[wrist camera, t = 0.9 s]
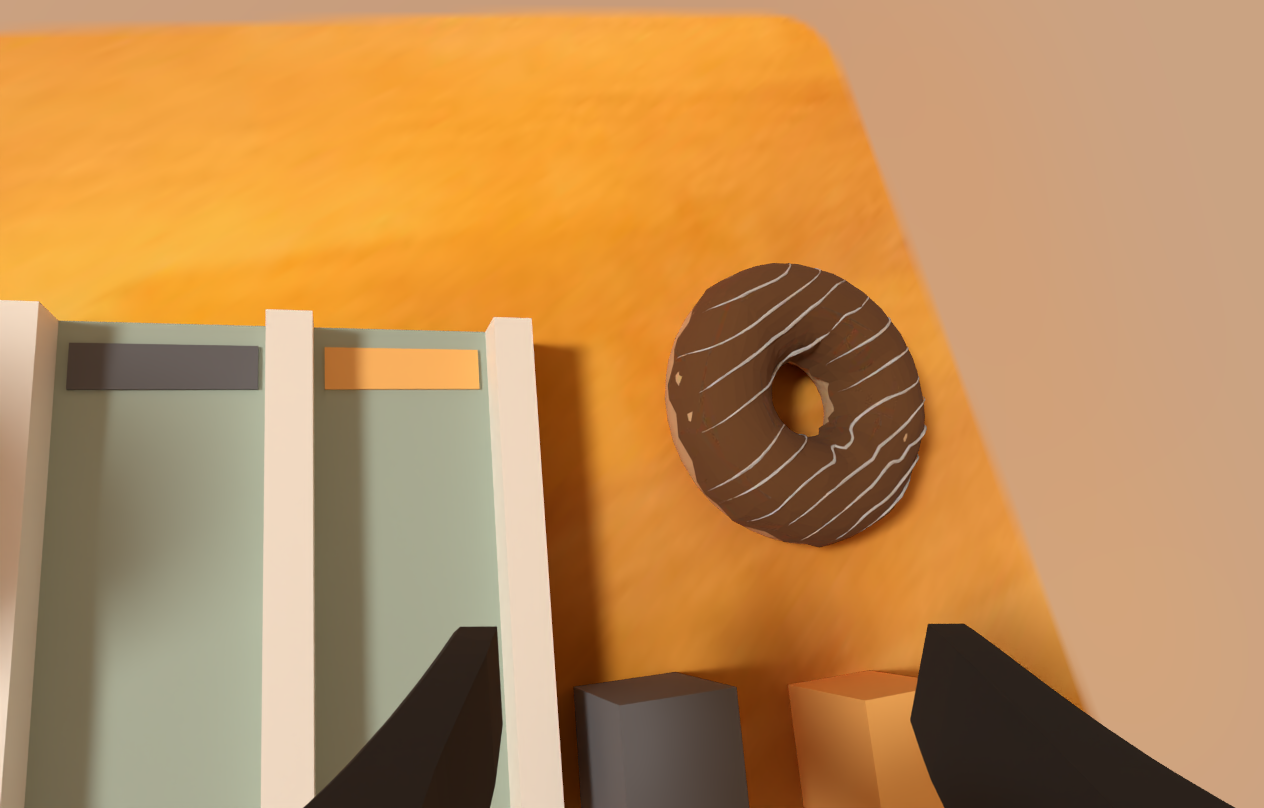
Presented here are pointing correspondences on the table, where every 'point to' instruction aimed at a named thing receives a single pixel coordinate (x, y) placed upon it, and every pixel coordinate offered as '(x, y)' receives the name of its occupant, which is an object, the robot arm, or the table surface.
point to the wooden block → (859, 743)
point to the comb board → (259, 553)
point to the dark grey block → (660, 744)
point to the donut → (751, 429)
